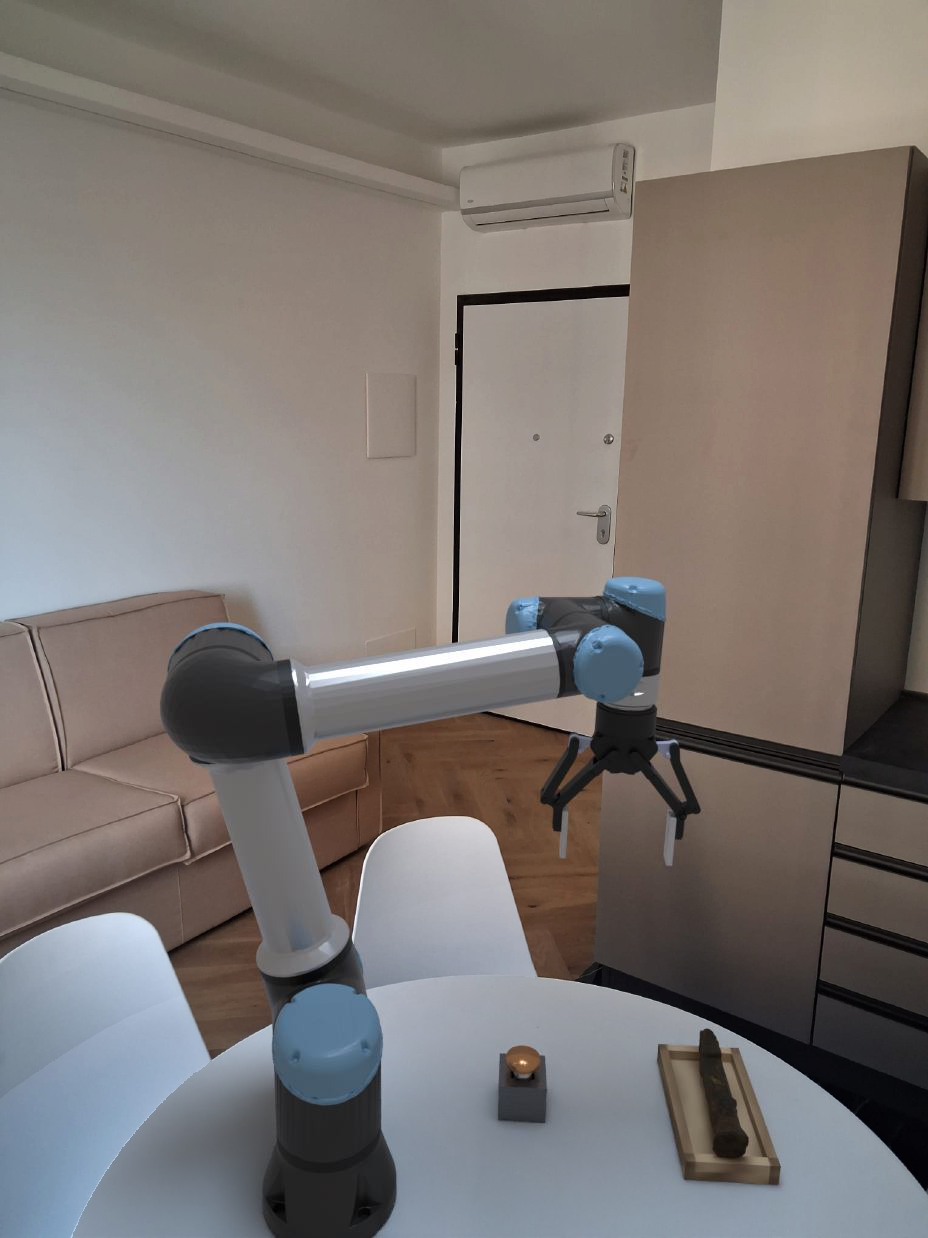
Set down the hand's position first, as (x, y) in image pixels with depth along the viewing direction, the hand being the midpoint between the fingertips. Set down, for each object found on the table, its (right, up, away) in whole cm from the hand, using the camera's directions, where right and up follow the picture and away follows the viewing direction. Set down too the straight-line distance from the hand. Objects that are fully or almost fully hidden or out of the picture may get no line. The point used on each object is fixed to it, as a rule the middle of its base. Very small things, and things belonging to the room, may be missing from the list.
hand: (614, 857), depth 117 cm
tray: (+12, -33, -2) cm, 35 cm away
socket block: (-12, -32, 0) cm, 34 cm away
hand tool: (+12, -31, -3) cm, 33 cm away
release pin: (-12, -32, 0) cm, 34 cm away
